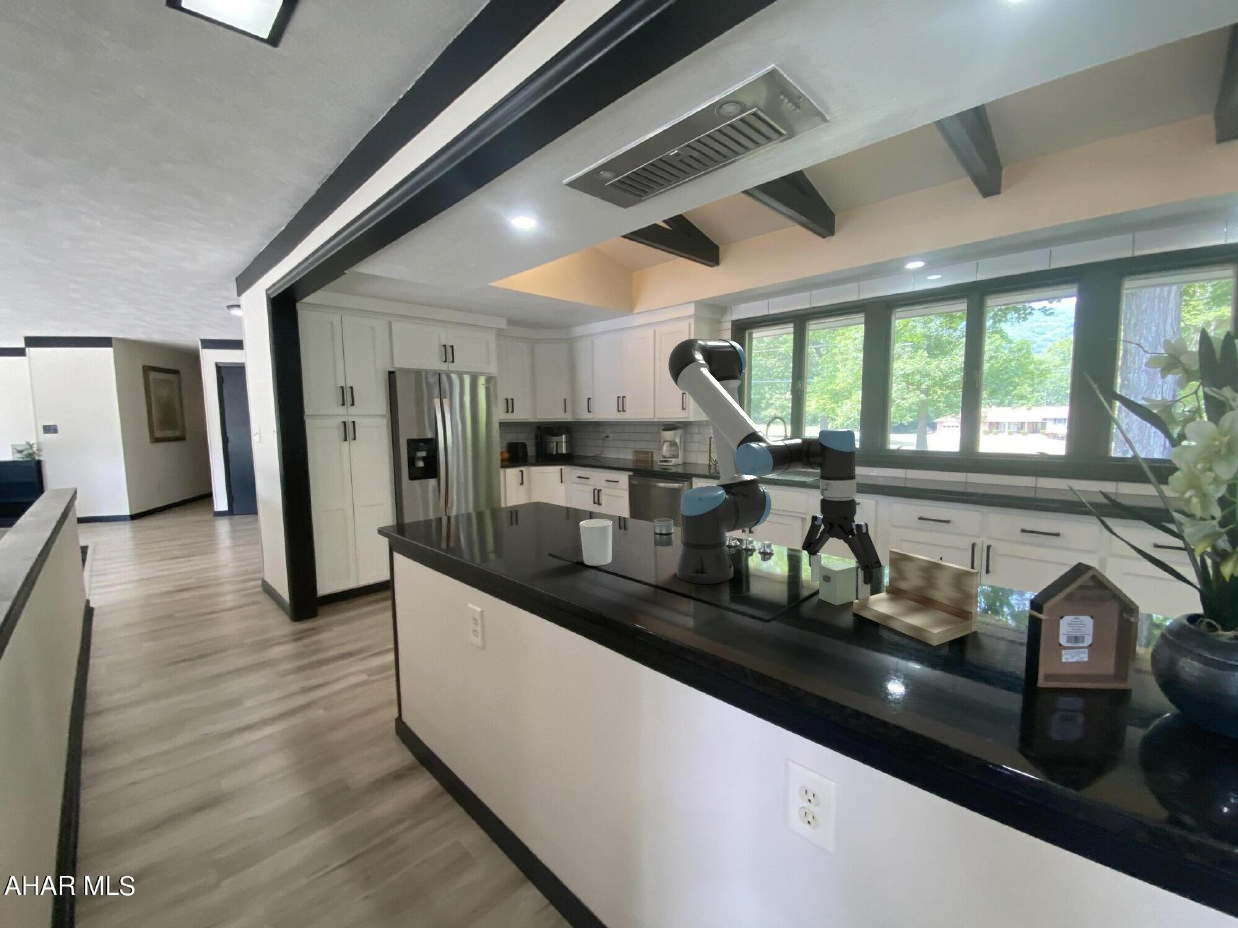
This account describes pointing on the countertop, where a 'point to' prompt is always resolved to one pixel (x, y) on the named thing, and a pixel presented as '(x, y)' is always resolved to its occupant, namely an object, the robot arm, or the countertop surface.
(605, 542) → the candle holder
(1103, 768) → the countertop surface
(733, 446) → the robot arm
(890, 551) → the cleat board
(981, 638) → the countertop surface
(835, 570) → the cabinet block
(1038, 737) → the countertop surface
